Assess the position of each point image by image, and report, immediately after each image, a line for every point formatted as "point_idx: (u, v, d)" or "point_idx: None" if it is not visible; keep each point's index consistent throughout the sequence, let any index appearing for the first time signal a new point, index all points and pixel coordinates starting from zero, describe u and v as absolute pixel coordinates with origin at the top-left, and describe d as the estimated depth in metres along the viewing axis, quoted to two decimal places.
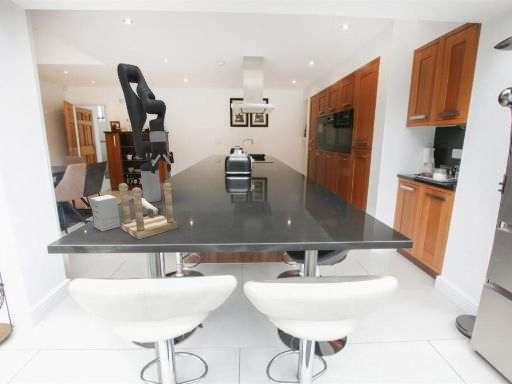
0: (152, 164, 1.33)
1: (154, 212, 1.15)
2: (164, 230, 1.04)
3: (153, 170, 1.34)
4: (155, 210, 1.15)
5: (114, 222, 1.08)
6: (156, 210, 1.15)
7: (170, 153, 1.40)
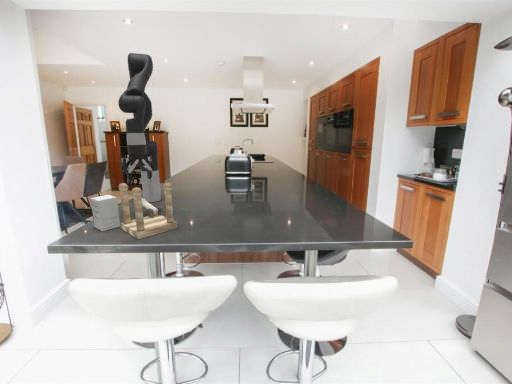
0: (129, 171, 1.15)
1: (154, 212, 1.15)
2: (164, 230, 1.04)
3: (130, 177, 1.16)
4: (155, 210, 1.15)
5: (114, 222, 1.08)
6: (156, 210, 1.15)
7: (151, 158, 1.22)
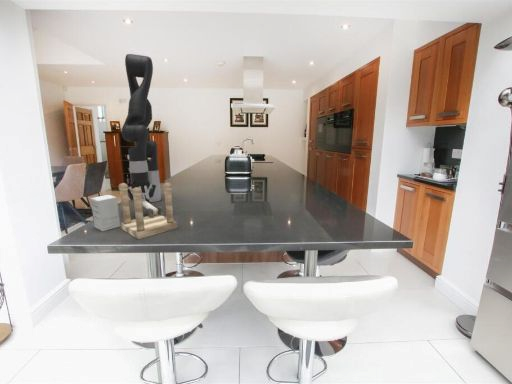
0: None
1: (154, 212, 1.15)
2: (164, 230, 1.04)
3: None
4: (155, 210, 1.15)
5: (114, 222, 1.08)
6: (156, 210, 1.15)
7: (153, 186, 1.25)
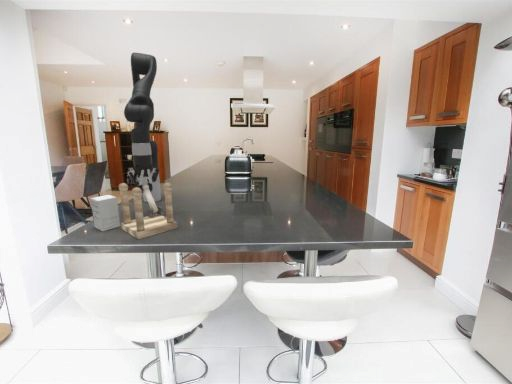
0: (139, 183, 1.15)
1: (154, 212, 1.15)
2: (164, 230, 1.04)
3: None
4: (155, 210, 1.15)
5: (114, 222, 1.08)
6: (156, 210, 1.15)
7: (156, 170, 1.20)
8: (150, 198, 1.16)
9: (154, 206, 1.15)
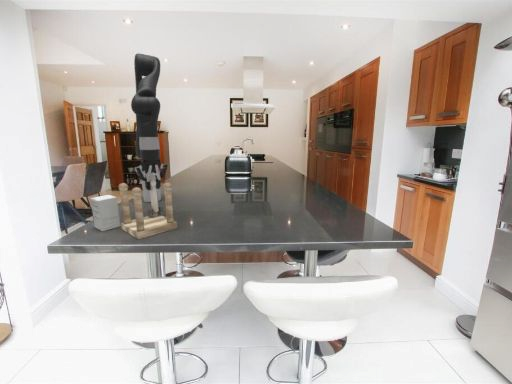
0: (147, 179, 1.09)
1: None
2: (164, 230, 1.04)
3: (148, 186, 1.10)
4: None
5: (114, 222, 1.08)
6: None
7: (164, 166, 1.14)
8: (154, 198, 1.13)
9: (156, 207, 1.14)
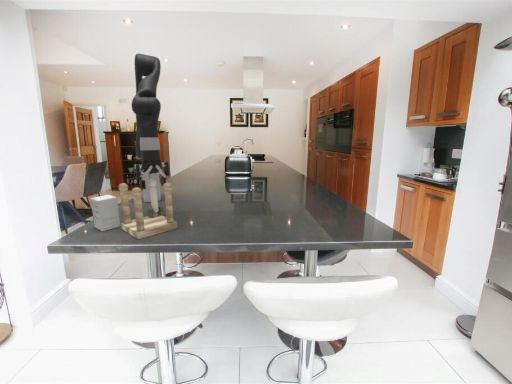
0: (142, 178, 1.07)
1: None
2: (164, 230, 1.04)
3: (143, 185, 1.08)
4: None
5: (114, 222, 1.08)
6: None
7: (165, 163, 1.14)
8: (154, 198, 1.13)
9: (156, 207, 1.14)
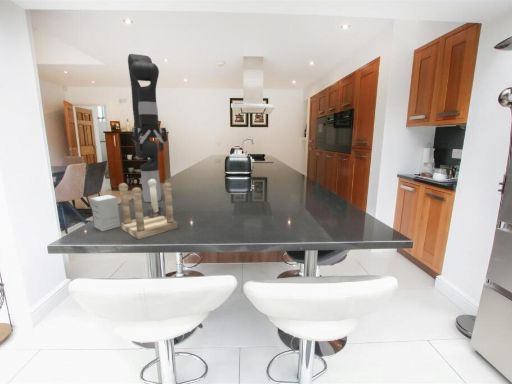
0: (140, 141, 1.12)
1: None
2: (164, 230, 1.04)
3: (141, 148, 1.13)
4: None
5: (114, 222, 1.08)
6: None
7: (163, 129, 1.18)
8: (154, 198, 1.13)
9: (156, 207, 1.14)
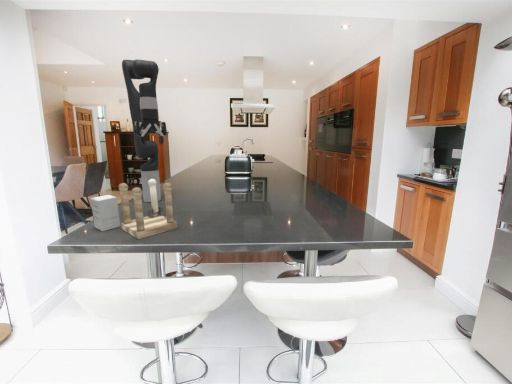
0: (142, 134, 1.19)
1: None
2: (164, 230, 1.04)
3: (143, 141, 1.20)
4: None
5: (114, 222, 1.08)
6: None
7: (162, 123, 1.25)
8: (154, 198, 1.13)
9: (156, 207, 1.14)
